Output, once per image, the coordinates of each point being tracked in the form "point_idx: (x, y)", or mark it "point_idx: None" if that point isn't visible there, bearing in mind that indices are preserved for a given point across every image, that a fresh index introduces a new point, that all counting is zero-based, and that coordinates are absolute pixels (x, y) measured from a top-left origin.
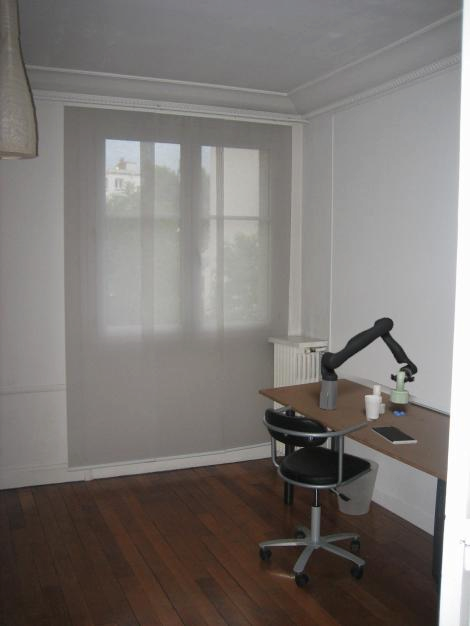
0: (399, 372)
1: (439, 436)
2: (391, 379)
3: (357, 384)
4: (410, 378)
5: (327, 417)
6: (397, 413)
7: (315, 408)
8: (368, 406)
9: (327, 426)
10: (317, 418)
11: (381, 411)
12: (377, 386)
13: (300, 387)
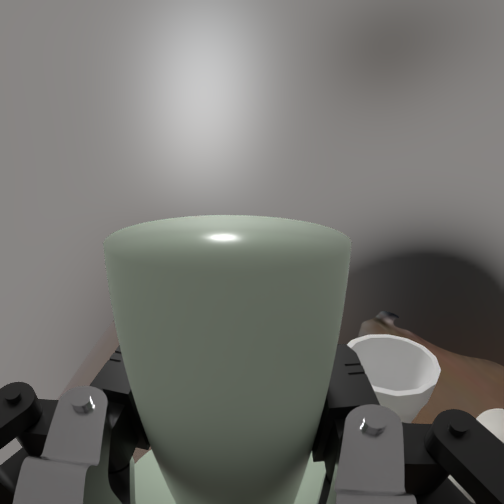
0: (262, 217)
1: (96, 354)
2: (451, 495)
3: None
4: (18, 389)
5: (474, 383)
6: None
7: None
8: (382, 375)
9: (412, 335)
10: (477, 363)
11: None
12: (478, 419)
13: None
